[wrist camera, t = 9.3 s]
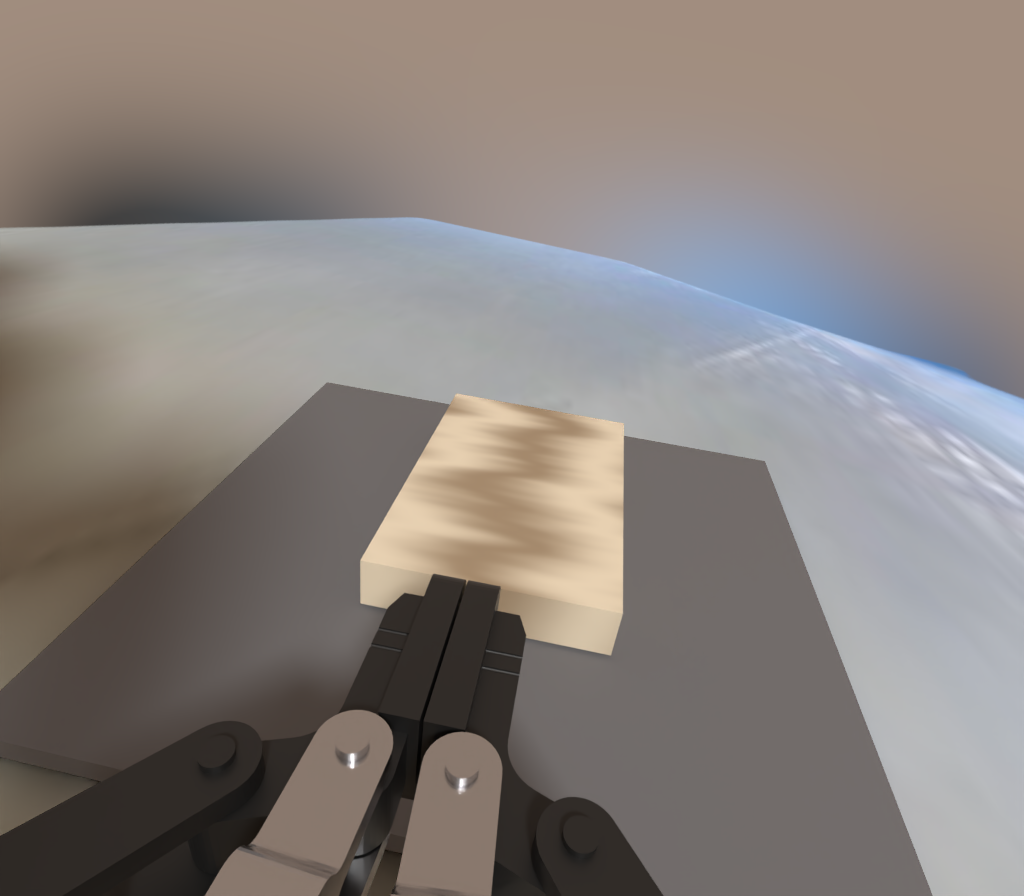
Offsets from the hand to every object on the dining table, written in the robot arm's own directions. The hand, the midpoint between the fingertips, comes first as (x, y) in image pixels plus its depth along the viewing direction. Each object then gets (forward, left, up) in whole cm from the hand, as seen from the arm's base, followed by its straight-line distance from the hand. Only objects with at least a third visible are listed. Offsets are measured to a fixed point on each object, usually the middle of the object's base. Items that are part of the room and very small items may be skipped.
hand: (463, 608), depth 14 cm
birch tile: (0, +6, -5) cm, 8 cm away
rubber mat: (0, +11, -7) cm, 13 cm away
